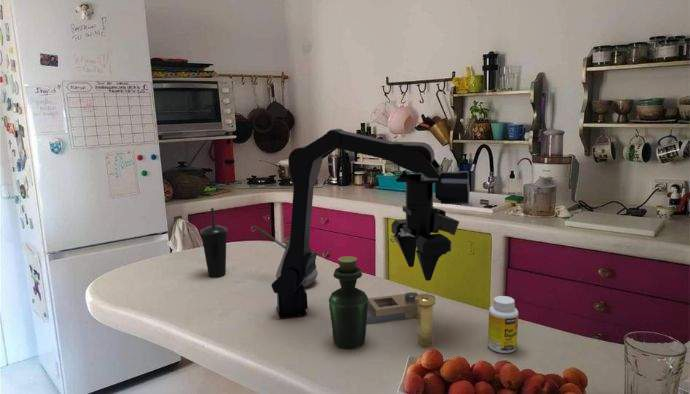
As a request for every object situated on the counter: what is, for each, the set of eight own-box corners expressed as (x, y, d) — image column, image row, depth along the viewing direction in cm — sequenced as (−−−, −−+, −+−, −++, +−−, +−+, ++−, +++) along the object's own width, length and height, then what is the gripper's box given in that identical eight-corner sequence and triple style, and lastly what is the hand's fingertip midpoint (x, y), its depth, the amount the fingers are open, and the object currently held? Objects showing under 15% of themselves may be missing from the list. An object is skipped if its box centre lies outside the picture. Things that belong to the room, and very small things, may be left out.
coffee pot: (326, 281, 140) (324, 228, 137) (301, 294, 131) (298, 239, 128) (268, 268, 152) (265, 220, 149) (241, 280, 142) (237, 229, 139)
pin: (419, 349, 101) (420, 302, 99) (412, 340, 104) (412, 295, 102) (438, 346, 101) (438, 300, 100) (430, 338, 105) (430, 292, 103)
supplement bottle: (504, 357, 97) (506, 307, 95) (481, 346, 101) (483, 298, 99) (522, 349, 100) (525, 300, 98) (500, 338, 104) (501, 291, 102)
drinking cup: (236, 273, 148) (231, 207, 145) (216, 281, 142) (211, 212, 138) (217, 269, 152) (212, 204, 149) (198, 276, 146) (192, 209, 142)
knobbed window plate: (352, 325, 112) (352, 308, 111) (344, 313, 119) (344, 297, 118) (427, 315, 116) (427, 299, 116) (415, 303, 123) (415, 288, 122)
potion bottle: (367, 332, 109) (366, 252, 105) (370, 350, 101) (369, 265, 97) (330, 333, 108) (327, 253, 105) (329, 352, 100) (326, 266, 97)
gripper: (476, 208, 99) (474, 283, 102) (435, 192, 117) (434, 257, 120) (423, 213, 96) (423, 290, 99) (390, 196, 114) (391, 262, 117)
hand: (419, 273), depth 109 cm, fingers open, 9 cm apart
